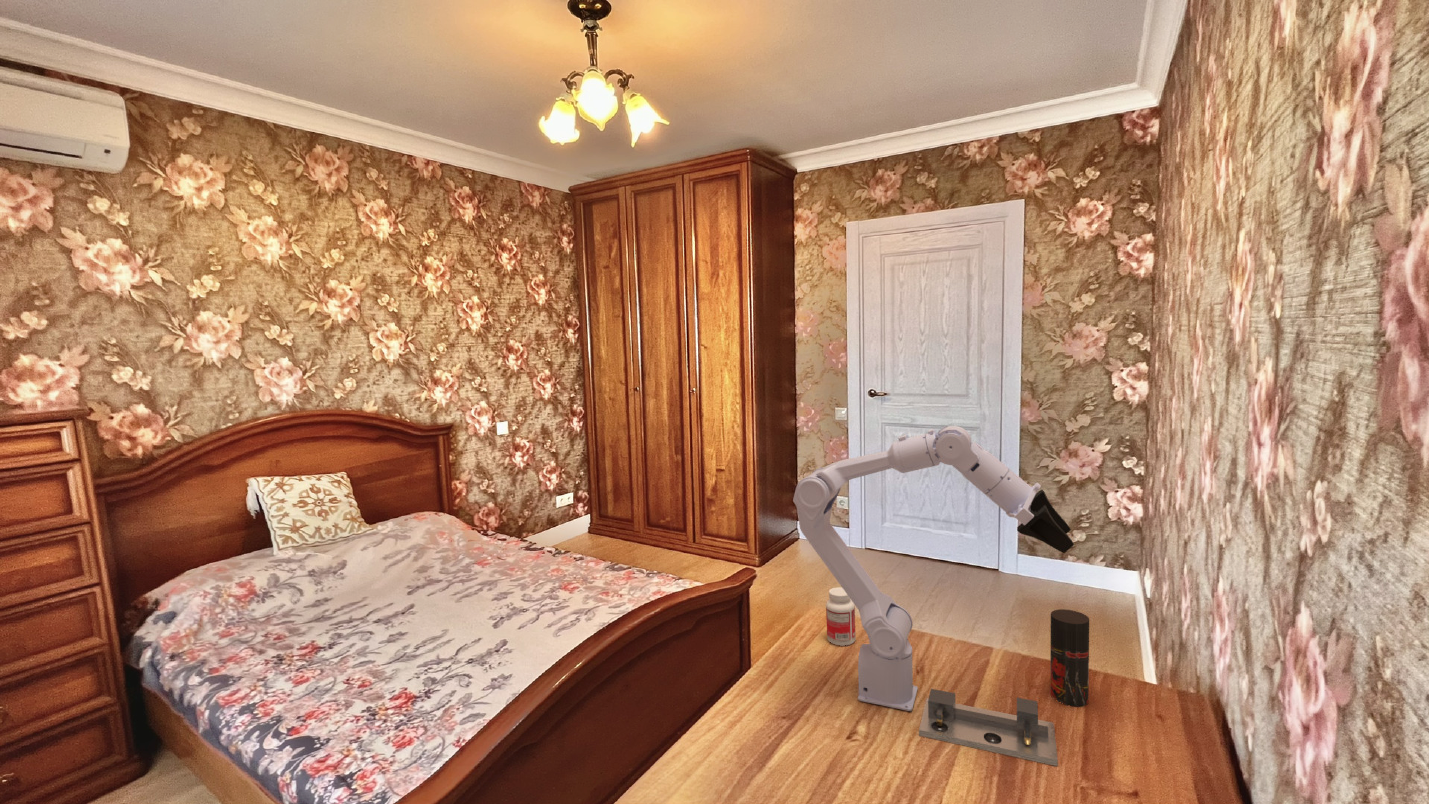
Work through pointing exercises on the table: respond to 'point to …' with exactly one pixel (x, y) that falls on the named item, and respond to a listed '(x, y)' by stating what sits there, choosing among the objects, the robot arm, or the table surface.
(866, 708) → the table surface
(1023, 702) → the sliding leg
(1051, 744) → the hole plate
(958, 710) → the beam
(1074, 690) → the deodorant
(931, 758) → the table surface
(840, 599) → the pill bottle
